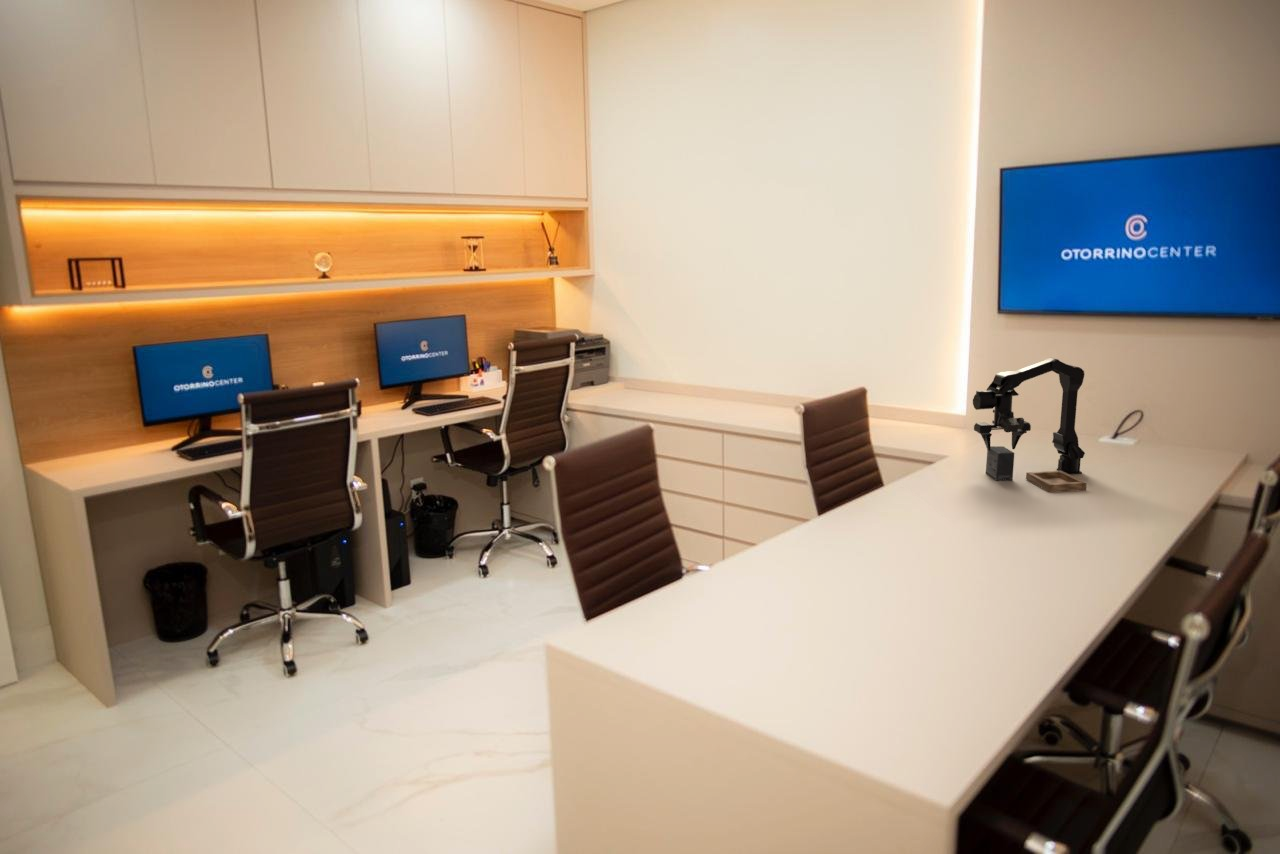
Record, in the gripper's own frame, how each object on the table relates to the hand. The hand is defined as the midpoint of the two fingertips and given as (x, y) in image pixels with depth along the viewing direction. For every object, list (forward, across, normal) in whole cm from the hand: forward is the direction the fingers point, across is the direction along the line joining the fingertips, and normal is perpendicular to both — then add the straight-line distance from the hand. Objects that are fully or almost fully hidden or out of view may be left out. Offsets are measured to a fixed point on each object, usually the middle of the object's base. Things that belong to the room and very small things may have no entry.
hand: (1001, 449), depth 311 cm
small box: (+10, 0, 0) cm, 11 cm away
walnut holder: (+10, +14, -13) cm, 22 cm away
